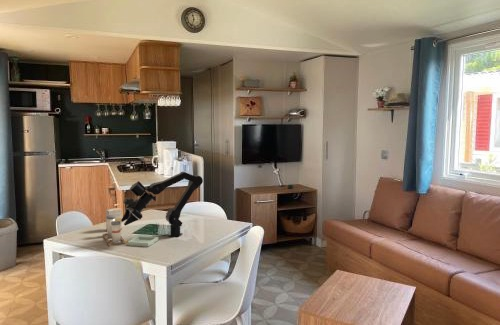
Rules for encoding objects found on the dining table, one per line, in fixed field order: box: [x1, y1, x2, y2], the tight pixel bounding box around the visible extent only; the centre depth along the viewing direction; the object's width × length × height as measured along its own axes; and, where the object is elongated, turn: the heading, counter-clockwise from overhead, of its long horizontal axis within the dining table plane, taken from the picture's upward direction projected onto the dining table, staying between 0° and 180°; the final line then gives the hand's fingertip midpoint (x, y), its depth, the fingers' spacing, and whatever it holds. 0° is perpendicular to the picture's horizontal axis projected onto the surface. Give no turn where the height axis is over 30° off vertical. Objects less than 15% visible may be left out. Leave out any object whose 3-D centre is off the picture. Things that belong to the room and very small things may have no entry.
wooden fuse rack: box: [102, 233, 129, 247], centre depth 217 cm, size 24×11×1 cm, turn 29°
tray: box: [127, 235, 159, 248], centre depth 210 cm, size 12×12×2 cm
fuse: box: [106, 215, 115, 237], centre depth 223 cm, size 5×5×12 cm
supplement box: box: [105, 207, 123, 230], centre depth 237 cm, size 8×5×13 cm, turn 135°
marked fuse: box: [111, 221, 122, 244], centre depth 209 cm, size 5×5×12 cm
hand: (122, 223), depth 210 cm, fingers open, 9 cm apart
